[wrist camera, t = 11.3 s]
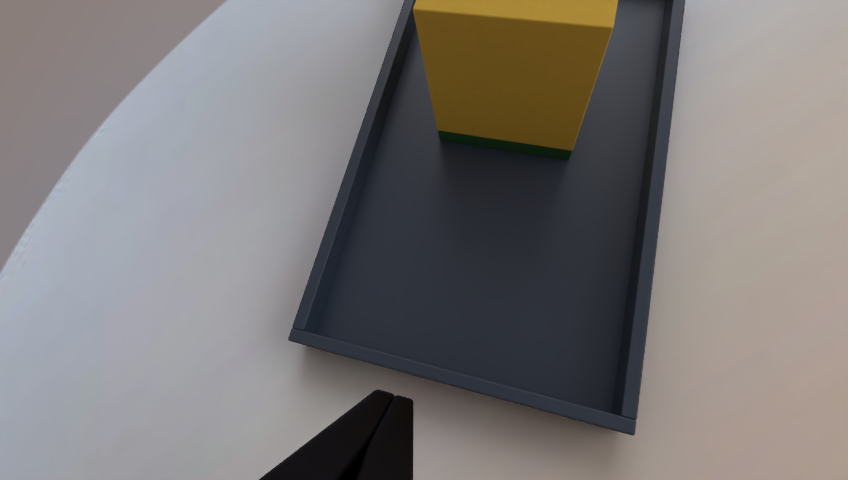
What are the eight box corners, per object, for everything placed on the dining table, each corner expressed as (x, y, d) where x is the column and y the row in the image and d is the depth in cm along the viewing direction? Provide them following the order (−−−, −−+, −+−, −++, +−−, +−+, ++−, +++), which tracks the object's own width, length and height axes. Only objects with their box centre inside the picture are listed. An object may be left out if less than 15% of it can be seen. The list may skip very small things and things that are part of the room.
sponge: (569, 161, 23) (613, 27, 15) (439, 140, 25) (412, 9, 16) (592, 37, 25) (641, -139, 17) (471, 26, 27) (462, -142, 18)
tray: (620, 431, 19) (635, 435, 17) (305, 344, 23) (287, 340, 21) (676, -14, 26) (690, -47, 25) (429, -32, 30) (425, -62, 28)
